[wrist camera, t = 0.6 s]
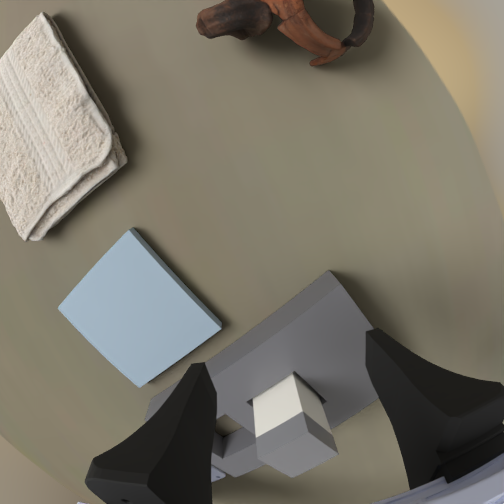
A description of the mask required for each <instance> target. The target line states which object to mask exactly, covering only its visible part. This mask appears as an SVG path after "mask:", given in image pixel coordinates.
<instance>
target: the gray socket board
mask: <svg viewBox="0 0 504 504" xmlns="http://www.w3.org/2000/svg"><path fill="white" fill-rule="evenodd" d="M372 329H374V328H373V327H372V326H371V324H370V323H369V321H368V320H367V319H366V317H365V316H364V315H363V313H362V312H361V310H360V309H359V308H358V306H357V305H356V304H355V302H354V301H353V300H352V298H351V297H350V295H349V294H348V293H347V291H346V290H345V289H344V287H343V286H342V285H341V283H340V282H339V281H338V280H337V279H336V278H335V277H334V275H333V274H332V273H331V272H330V271H329V270H328V271H327V272H325V273H324V274H323V275H322V276H320V277H319V278H318V279H317V280H315V281H314V282H313V283H312V284H310V285H309V286H308V287H307V288H305V289H304V290H303V291H302V292H300V293H299V294H298V295H296V296H295V297H294V298H293V299H291V300H290V301H289V302H287V303H286V304H285V305H283V306H282V307H281V308H280V309H278V310H277V311H276V312H274V313H273V314H272V315H270V316H269V317H268V318H266V319H265V320H264V321H262V322H261V323H260V324H258V325H257V326H256V327H254V328H253V329H252V330H250V331H249V332H247V333H246V334H245V335H243V336H242V337H241V338H239V339H238V340H236V341H235V342H234V343H232V344H231V345H230V346H228V347H227V348H225V349H224V350H223V351H221V352H220V353H218V354H217V355H215V356H214V357H213V358H211V359H210V360H208V361H207V362H205V365H206V367H207V370H208V372H209V375H210V377H211V380H212V382H213V385H214V387H215V389H216V392H217V417H216V419H218V418H219V417H221V416H223V415H225V414H226V415H228V416H229V417H230V418H232V419H233V420H234V421H236V422H237V423H239V424H240V425H241V426H243V427H242V428H240V429H239V430H237V431H235V432H233V433H231V434H229V435H227V436H225V437H222V436H220V435H219V434H217V433H216V432H214V440H213V447H212V457H211V464H212V465H214V466H215V467H217V468H219V469H221V470H222V471H224V472H226V473H228V474H230V475H232V476H233V477H238V476H240V475H243V474H245V473H247V472H250V471H252V470H254V469H256V468H259V467H261V466H263V465H265V464H266V463H264V462H262V461H261V460H259V459H258V458H257V446H256V434H255V421H254V409H253V397H255V396H257V395H258V394H260V393H261V392H263V391H265V390H266V389H268V388H269V387H271V386H272V385H274V384H275V383H277V382H279V381H280V380H282V379H283V378H285V377H286V376H288V375H289V374H291V373H292V372H294V371H295V372H296V373H297V374H299V375H300V376H301V377H302V378H303V379H304V380H305V381H306V382H307V383H308V384H309V385H310V386H311V387H312V388H313V389H314V390H315V391H316V392H318V395H319V398H320V401H321V404H322V407H323V409H324V412H325V415H326V418H327V421H328V424H329V427H330V430H331V429H332V428H334V427H336V426H337V425H339V424H341V423H342V422H344V421H345V420H347V419H348V418H350V417H352V416H353V415H355V414H356V413H358V412H359V411H361V410H362V409H364V408H365V407H367V406H368V405H369V404H371V403H372V402H374V401H375V400H377V399H378V398H379V397H378V395H377V393H376V391H375V389H374V387H373V385H372V383H371V380H370V377H369V374H368V371H367V368H366V366H365V353H366V331H369V330H372ZM179 382H180V380H179V381H178V382H176V383H175V384H173V385H172V386H170V387H169V388H167V389H166V390H164V391H162V392H161V393H159V394H158V395H156V396H155V397H153V398H152V399H151V401H150V404H149V407H148V411H147V414H146V417H145V421H148V420H149V419H150V418H151V417H152V416H153V415H154V414H155V413H156V412H157V411H158V409H159V408H160V407H161V406H162V405H163V403H164V402H165V401H166V400H167V398H168V397H169V396H170V394H171V393H172V392H173V390H174V389H175V387H176V386H177V385H178V383H179Z"/></svg>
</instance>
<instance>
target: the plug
mask: <svg viewBox="0 0 504 504" xmlns="http://www.w3.org/2000/svg"><path fill="white" fill-rule="evenodd" d="M253 409H254V421H255V434H256V446H257V458H258V459H259V460H261V461H262V462H264V463H266V464H268V465H269V466H271V467H273V468H275V469H276V470H278V471H280V472H282V473H284V474H285V475H287V476H289V477H291V478H293V477H295V476H297V475H300V474H302V473H304V472H306V471H308V470H310V469H312V468H314V467H316V466H318V465H320V464H322V463H323V462H325V461H327V460H329V459H331V458H333V457H335V456H336V455H338V454H339V453H338V450H337V447H336V444H335V441H334V438H333V436H332V433H331V430H330V427H329V424H328V421H327V418H326V415H325V412H324V409H323V407H322V404H321V401H320V398H319V395H318V392H316V391H315V390H314V389H313V388H312V387H311V386H310V385H309V384H308V383H307V382H306V381H305V380H304V379H303V378H302V377H301V376H300V375H299V374H297V373H296V372H295V371H294V372H292V373H291V374H289V375H288V376H286V377H285V378H283V379H282V380H280V381H279V382H277V383H275V384H274V385H272V386H271V387H269V388H268V389H266V390H265V391H263V392H261V393H260V394H258V395H257V396H255V397H253Z"/></svg>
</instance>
